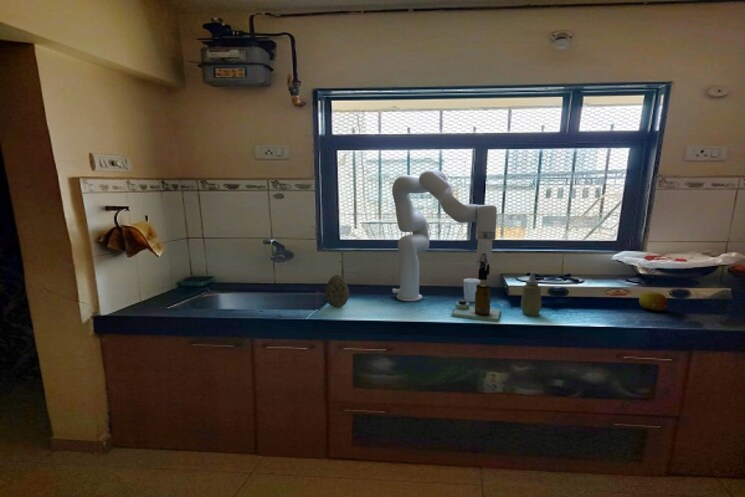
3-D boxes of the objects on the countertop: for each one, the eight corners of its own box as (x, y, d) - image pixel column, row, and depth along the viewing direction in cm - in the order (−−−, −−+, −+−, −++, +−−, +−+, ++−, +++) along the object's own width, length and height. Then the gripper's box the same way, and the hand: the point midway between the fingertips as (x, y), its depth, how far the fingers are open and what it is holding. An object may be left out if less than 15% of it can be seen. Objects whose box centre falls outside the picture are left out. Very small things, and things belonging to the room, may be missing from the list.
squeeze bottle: (532, 318, 143) (534, 274, 140) (516, 312, 150) (517, 271, 147) (545, 315, 146) (547, 272, 144) (529, 309, 153) (530, 269, 151)
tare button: (458, 304, 153) (458, 301, 153) (459, 303, 156) (459, 299, 156) (465, 305, 152) (465, 301, 152) (466, 303, 155) (466, 299, 155)
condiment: (482, 309, 151) (483, 282, 149) (497, 315, 143) (498, 286, 142) (469, 312, 147) (470, 284, 146) (484, 318, 140) (485, 288, 138)
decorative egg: (344, 302, 168) (343, 272, 166) (352, 308, 159) (352, 276, 157) (322, 305, 164) (321, 274, 162) (330, 312, 154) (329, 278, 152)
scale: (451, 316, 146) (451, 309, 146) (456, 307, 158) (456, 301, 158) (497, 321, 139) (498, 314, 139) (500, 312, 151) (500, 305, 150)
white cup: (478, 298, 173) (478, 278, 171) (481, 302, 165) (482, 282, 164) (461, 298, 173) (462, 278, 172) (464, 302, 166) (464, 281, 164)
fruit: (663, 308, 152) (665, 290, 151) (669, 314, 144) (671, 295, 143) (636, 306, 157) (638, 288, 156) (640, 311, 149) (642, 293, 148)
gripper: (478, 233, 151) (477, 272, 153) (473, 237, 135) (471, 280, 138) (497, 234, 148) (495, 273, 150) (493, 238, 132) (491, 282, 135)
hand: (483, 277), depth 144 cm, fingers open, 9 cm apart
